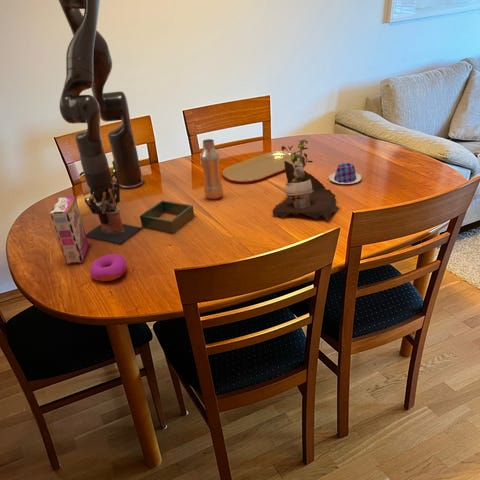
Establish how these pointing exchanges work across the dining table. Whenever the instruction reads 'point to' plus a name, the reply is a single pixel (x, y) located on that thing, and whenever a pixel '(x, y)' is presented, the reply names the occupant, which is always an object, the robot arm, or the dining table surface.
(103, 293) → the dining table surface
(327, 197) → the potted plant
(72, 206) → the candy bar box
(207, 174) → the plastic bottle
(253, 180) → the serving platter
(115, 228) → the lighter
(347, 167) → the purple patterned hat
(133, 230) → the mat
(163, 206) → the frame
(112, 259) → the donut
